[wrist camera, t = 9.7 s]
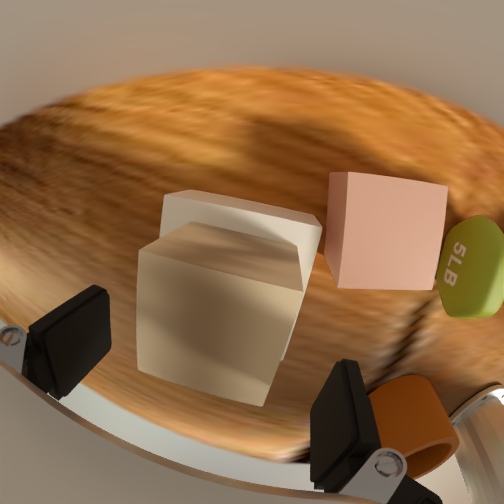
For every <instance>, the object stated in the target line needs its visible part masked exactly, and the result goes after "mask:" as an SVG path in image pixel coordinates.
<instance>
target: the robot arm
mask: <svg viewBox="0 0 504 504" xmlns="http://www.w3.org/2000/svg"><path fill="white" fill-rule="evenodd" d="M28 328H29V333H26V331H25V330H24V329H23V328H22V327H20V326H17V325H8V326H5V327H3V328H2V329H0V504H443V503H442V500H441V499H440V497H439V496H438V495H437V494H435V493H434V492H432V491H430V490H429V489H427V488H426V487H424V486H422V485H421V484H419V483H418V482H417V481H415V480H414V479H412V478H411V477H409V476H408V475H406V474H405V473H406V471H407V462H406V460H405V458H404V457H403V455H402V454H401V453H400V452H398V451H397V450H394V449H392V448H382V446H381V441H380V437H379V433H378V428H377V424H376V420H375V416H374V412H373V408H372V404H371V401H370V398H369V396H367V394H366V390H365V386H364V383H363V379H362V375H361V372H360V368H359V365H358V362H357V361H353V360H348V359H342V360H341V362H336V364H335V365H334V367H333V369H332V371H331V373H330V375H329V377H328V379H327V381H326V383H325V384H324V386H323V388H322V390H321V392H320V393H319V395H318V397H317V399H316V401H315V402H314V404H313V406H312V408H311V412H310V481H311V482H314V489H319V490H324V493H323V492H313V491H303V490H294V489H286V488H279V487H272V486H266V485H260V484H255V483H250V482H244V481H239V480H235V479H231V478H227V477H223V476H218V475H215V474H211V473H208V472H204V471H201V470H197V469H195V468H192V467H188V466H185V465H182V464H179V463H177V462H174V461H171V460H168V459H166V458H163V457H161V456H158V455H156V454H153V453H151V452H148V451H146V450H144V449H141V448H139V447H137V446H135V445H133V444H130V443H128V442H126V441H124V440H122V439H120V438H118V437H116V436H114V435H112V434H110V433H108V432H107V431H105V430H103V429H101V428H99V427H97V426H96V425H94V424H92V423H90V422H89V421H87V420H85V419H83V418H82V417H80V416H79V415H77V414H76V413H74V412H72V411H71V410H69V409H68V408H66V407H65V406H63V405H62V404H60V403H59V402H57V401H56V400H55V399H57V400H58V401H59V400H60V399H61V398H62V397H63V396H64V397H65V396H67V395H68V394H69V393H70V392H71V391H72V390H73V388H75V387H76V385H77V384H78V383H79V382H80V381H81V380H82V379H83V378H84V377H85V376H86V375H87V374H88V373H89V372H90V371H91V370H92V369H93V368H94V366H95V365H96V364H97V363H98V362H99V361H100V360H101V359H102V358H103V357H104V356H105V355H106V354H107V353H108V352H109V351H110V349H111V345H112V343H111V328H110V299H109V294H108V293H107V290H106V289H104V288H102V287H100V286H97V285H92V286H90V287H88V288H87V289H85V290H84V291H82V292H80V293H79V294H77V295H76V296H74V297H73V298H71V299H69V300H68V301H66V302H65V303H63V304H62V305H60V306H59V307H57V308H55V309H54V310H52V311H51V312H49V313H48V314H46V315H45V316H43V317H42V318H40V319H39V320H37V321H36V322H35V323H33V324H32V325H30V326H29V327H28ZM48 392H49V394H50V395H51V396H52V397H54V398H55V399H53V398H52V397H50V396H49V395H47V393H48ZM449 419H450V421H451V423H452V425H453V427H454V429H455V431H456V433H457V436H458V438H459V442H460V444H459V446H458V448H457V450H456V451H455V452H454V454H455V457H456V459H457V462H458V464H459V467H460V470H461V472H462V475H463V478H464V481H465V484H466V487H467V490H468V493H469V496H470V499H471V503H472V504H504V387H503V386H502V385H494V386H491V387H489V388H487V389H484V390H483V391H481V392H479V393H478V394H476V395H475V396H473V397H472V398H471V399H469V400H468V401H467V402H466V403H464V404H463V405H462V406H461V407H460V408H459V409H457V410H456V411H455V412H454V413H453V414H452V415H451V416H450V417H449Z"/></svg>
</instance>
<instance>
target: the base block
mask: <svg viewBox="0 0 504 504" xmlns="http://www.w3.org/2000/svg"><path fill="white" fill-rule="evenodd" d="M191 221H194V222H198V223H202V224H207V225H211V226H215V227H220V228H224V229H228V230H233V231H237V232H241V233H245V234H250V235H254V236H258V237H262V238H266V239H270V240H274V241H279V242H283V243H287V244H291V245H295V246H297V248H298V255H299V262H300V268H301V275H302V283H303V290H304V293H303V296H302V299H301V302H300V305H299V308H298V311H297V314H296V317H295V320H294V323H293V326H292V329H291V332H290V335H289V338H288V341H287V344H286V346H285V349H284V352H283V355H282V357H281V360H283V359H284V356H285V353H286V350H287V347H288V344H289V341H290V338H291V335H292V332H293V329H294V326H295V323H296V320H297V317H298V314H299V310H300V307H301V304H302V301H303V297H304V294H305V291H306V287H307V284H308V280H309V277H310V273H311V270H312V266H313V263H314V259H315V255H316V252H317V248H318V244H319V240H320V237H321V233H322V229H323V227H322V226H321V224H320V223H319V221H318V220H317V219H316V217H315V216H314V215H312V214H308V213H304V212H300V211H295V210H291V209H287V208H282V207H278V206H273V205H269V204H264V203H259V202H255V201H250V200H245V199H240V198H235V197H230V196H225V195H220V194H214V193H209V192H204V191H198V190H192V189H190V190H185V191H180V192H175V193H170V194H165V195H164V201H163V209H162V217H161V226H160V236H159V238H161V237H163V236H165V235H166V234H168V233H170V232H172V231H174V230H176V229H178V228H179V227H181V226H183V225H185V224H187V223H189V222H191Z"/></svg>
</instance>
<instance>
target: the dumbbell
mask: <svg viewBox="0 0 504 504" xmlns="http://www.w3.org/2000/svg"><path fill="white" fill-rule="evenodd" d="M436 279H437V285H438V289H439V293H440V296H441V300H442V304H443V306H444V309H445V311H446V313H447V314H448V315H449V316H451V317H454V318H462V319H475V318H483V317H488V316H491V315H493V314H495V313H496V312H497V311H498V310H499V308H500V306H501V305H502V303H503V301H504V234H503V232H502V231H501V230H500V228H499V227H498V225H497V224H496V223H495V222H494V221H492V220H491V219H489V218H487V217H484V216H481V215H476V216H473V217H470V218H468V219H466V220H464V221H462V222H461V223H459V224H457V225H456V226H454V227H453V228H451V229H450V231H449V232H448V234H447V236H446V239H445V242H444V245H443V249H442V253H441V256H440V260H439V263H438V267H437V273H436Z"/></svg>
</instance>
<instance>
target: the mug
mask: <svg viewBox="0 0 504 504" xmlns="http://www.w3.org/2000/svg"><path fill="white" fill-rule="evenodd" d="M368 396H369V398H370V401H371V404H372V408H373V412H374V416H375V420H376V424H377V428H378V433H379V437H380V441H381V446H382V448H392V449H394V450H397V451H398V452H400V453H401V454H402V455H403V457H404V458H405V460H406V462H407V471H406V473H405V474H406V475H408V476H409V477H411V478H412V479H414V480H415V479H417V478H420V477H422V476H424V475H426V474H427V473H429V472H431V471H433V470H434V469H436V468H437V467H439V466H440V465H442V464H443V463H444V462H445V461H446V460H448V459H449V458H450V457H451V456H452V455H453V454H454V452H455V451H456V450H457V448H458V446H459V444H460V442H459V438H458V436H457V433H456V431H455V429H454V427H453V425H452V423H451V421H450V419H449V417H448V415H447V413H446V411H445V409H444V407H443V405H442V403H441V401H440V400H439V398H438V396H437V394H436V392H435V390H434V388H433V387H432V385H431V383H430V381H429V380H428V379H427V378H425V377H424V376H421V375H415V374H413V375H406V376H401V377H399V378H396V379H393V380H390V381H388V382H387V383H385V384H383V385H381V386H380V387H378V388H377V389H376V390H374V391H373V392H372V393H371V394H369V395H368Z"/></svg>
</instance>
